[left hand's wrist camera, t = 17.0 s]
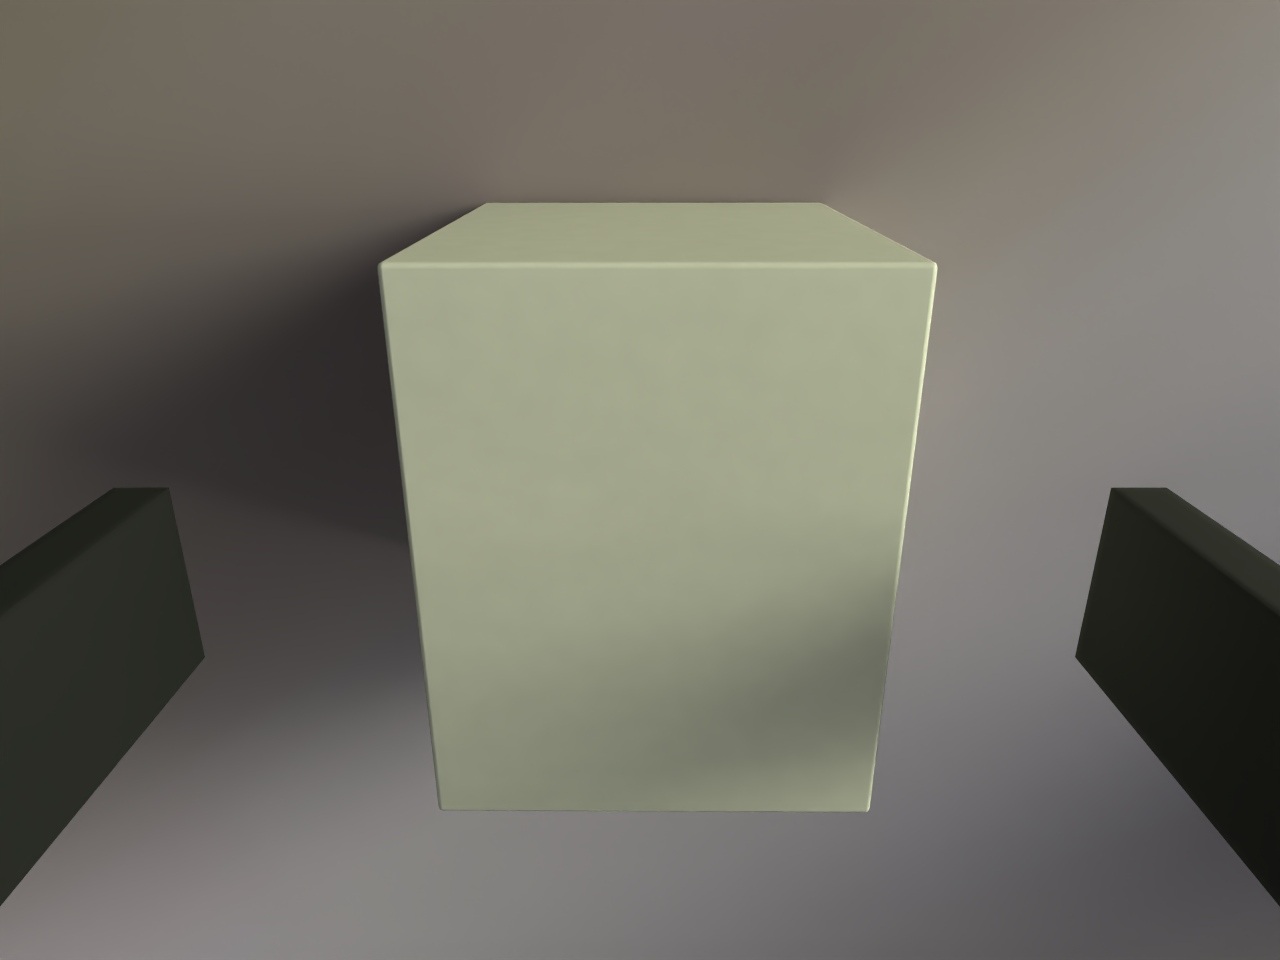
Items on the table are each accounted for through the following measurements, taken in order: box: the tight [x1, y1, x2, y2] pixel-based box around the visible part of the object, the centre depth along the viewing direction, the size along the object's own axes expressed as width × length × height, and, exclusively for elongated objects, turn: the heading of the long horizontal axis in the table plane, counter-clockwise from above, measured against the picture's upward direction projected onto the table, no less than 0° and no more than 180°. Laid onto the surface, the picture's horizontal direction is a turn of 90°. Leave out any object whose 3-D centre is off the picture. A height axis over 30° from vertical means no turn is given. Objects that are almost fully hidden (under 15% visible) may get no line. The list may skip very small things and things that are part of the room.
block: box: [377, 203, 937, 812], centre depth 15 cm, size 7×8×7 cm
